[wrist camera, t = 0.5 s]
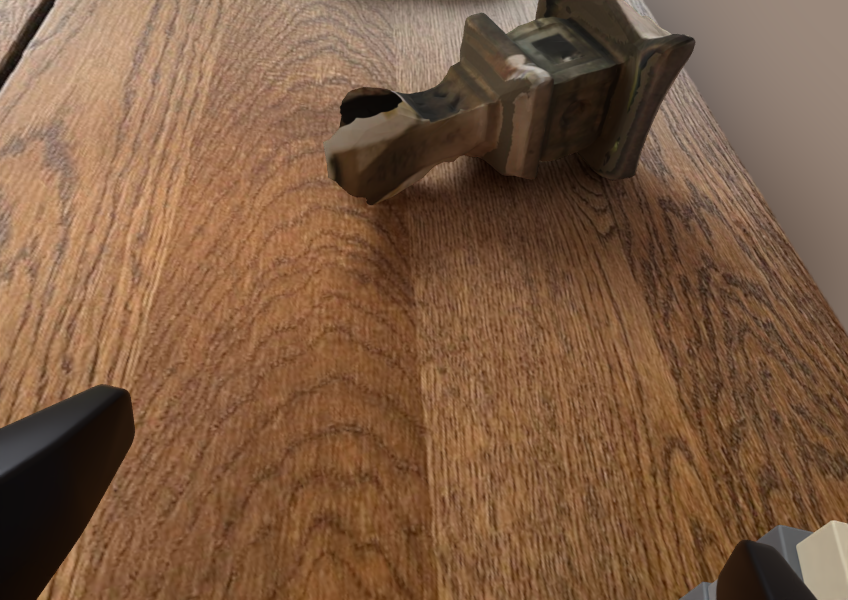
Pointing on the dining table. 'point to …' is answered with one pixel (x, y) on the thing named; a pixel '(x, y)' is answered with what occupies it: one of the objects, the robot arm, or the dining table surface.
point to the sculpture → (518, 100)
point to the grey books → (778, 537)
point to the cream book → (826, 561)
